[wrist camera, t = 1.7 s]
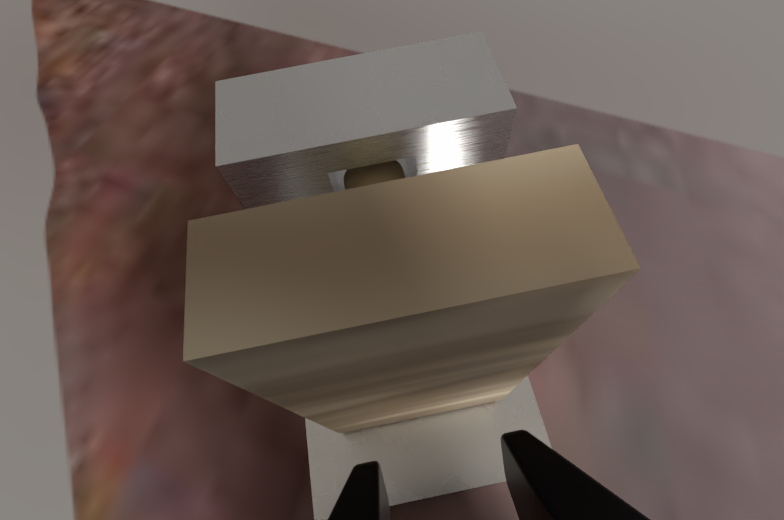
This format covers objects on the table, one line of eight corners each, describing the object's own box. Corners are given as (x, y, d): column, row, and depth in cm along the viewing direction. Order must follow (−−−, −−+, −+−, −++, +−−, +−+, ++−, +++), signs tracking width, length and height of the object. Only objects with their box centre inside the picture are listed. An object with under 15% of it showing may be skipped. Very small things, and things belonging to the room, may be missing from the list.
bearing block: (555, 470, 18) (676, 467, 9) (317, 520, 17) (215, 565, 9) (462, 185, 24) (482, 30, 16) (289, 219, 24) (215, 81, 16)
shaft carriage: (502, 399, 18) (640, 267, 6) (339, 433, 18) (182, 361, 6) (452, 230, 22) (482, -44, 10) (317, 257, 22) (195, 9, 10)
